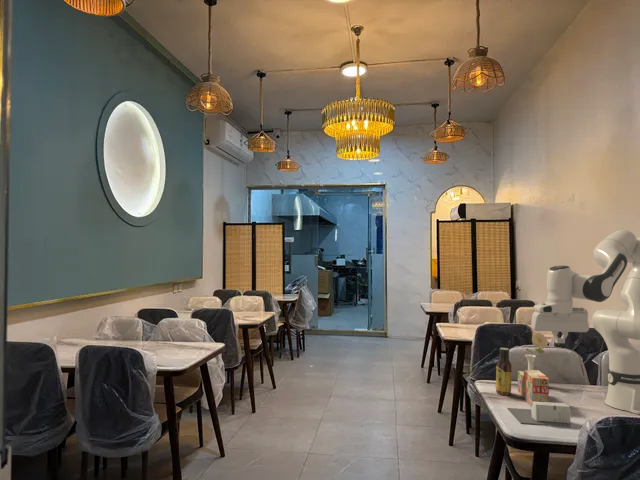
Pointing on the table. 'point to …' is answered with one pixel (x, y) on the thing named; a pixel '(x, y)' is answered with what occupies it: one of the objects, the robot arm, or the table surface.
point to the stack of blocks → (533, 386)
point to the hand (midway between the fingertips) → (559, 343)
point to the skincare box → (550, 412)
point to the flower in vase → (540, 343)
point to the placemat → (526, 418)
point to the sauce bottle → (503, 373)
